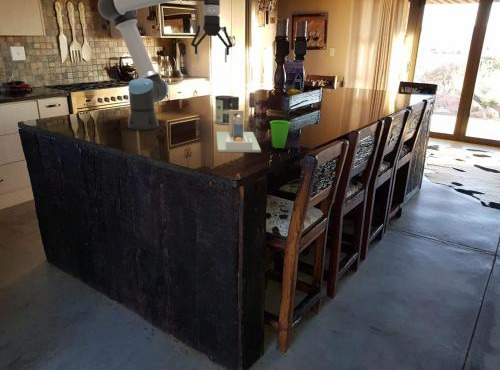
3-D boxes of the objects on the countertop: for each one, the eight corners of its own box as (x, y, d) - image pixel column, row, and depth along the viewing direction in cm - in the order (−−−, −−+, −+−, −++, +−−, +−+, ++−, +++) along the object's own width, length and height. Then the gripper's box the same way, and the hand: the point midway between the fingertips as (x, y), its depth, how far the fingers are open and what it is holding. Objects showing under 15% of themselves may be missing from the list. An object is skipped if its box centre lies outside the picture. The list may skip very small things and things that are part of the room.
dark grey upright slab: (233, 142, 171) (234, 105, 165) (230, 129, 194) (231, 96, 188) (242, 142, 171) (243, 105, 165) (238, 129, 194) (239, 96, 189)
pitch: (217, 152, 164) (218, 120, 159) (216, 133, 193) (216, 106, 189) (260, 152, 166) (262, 121, 161) (252, 133, 195) (253, 107, 191)
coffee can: (235, 121, 222) (236, 96, 217) (231, 125, 212) (231, 98, 207) (218, 120, 224) (218, 94, 219) (212, 123, 214) (212, 97, 209)
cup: (267, 144, 178) (268, 120, 174) (287, 144, 179) (288, 120, 175) (269, 149, 169) (271, 124, 165) (290, 150, 170) (292, 125, 166)
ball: (233, 136, 170) (233, 146, 171) (234, 136, 167) (234, 146, 167) (242, 137, 171) (242, 146, 171) (243, 136, 167) (243, 146, 167)
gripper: (185, 13, 183) (186, 61, 191) (238, 16, 186) (237, 63, 193) (185, 14, 190) (186, 60, 198) (237, 16, 192) (236, 61, 200)
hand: (211, 61), depth 195 cm, fingers open, 13 cm apart
